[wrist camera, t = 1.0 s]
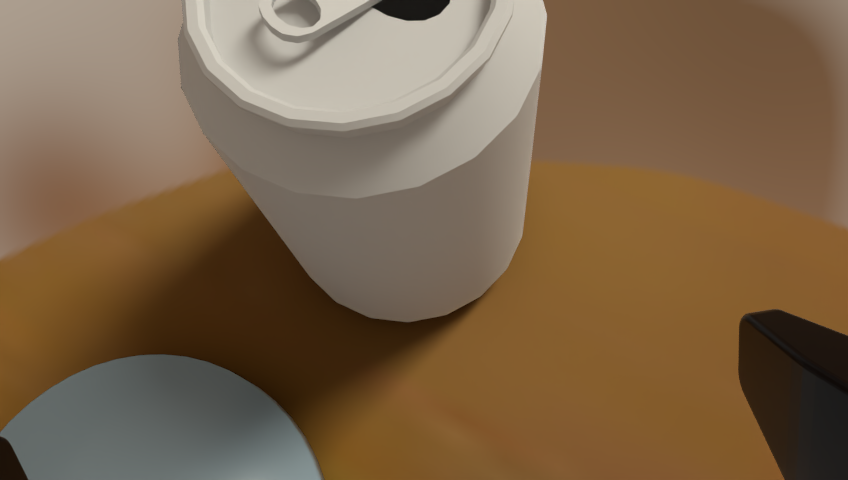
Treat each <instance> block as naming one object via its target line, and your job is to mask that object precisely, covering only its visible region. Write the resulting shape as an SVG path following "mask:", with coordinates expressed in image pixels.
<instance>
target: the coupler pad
mask: <svg viewBox="0 0 848 480" xmlns="http://www.w3.org/2000/svg"><path fill="white" fill-rule="evenodd" d="M0 436H1V437H4V438H5V439H7V440H8V441H9V442H10V444H11V446H12V448H13V450H14V452H15V454H16V456H17V458H18V460H19V462H20V464H21V466H22V468H23V470H24V472H25V474H26V476H27V478H28V480H325V479H324V476H323V474H322V471H321V468H320V465H319V463H318V460H317V458H316V456H315V454H314V452H313V450H312V448H311V446H310V444H309V442H308V440H307V439H306V437H305V435H304V434H303V433H302V431H301V430H300V428H299V427H298V426H297V424H296V423H295V421H294V420H293V419H292V417H291V416H290V415H289V414H288V413H287V412H286V411H285V410H284V409H283V408H282V407H281V406H280V405H279V404H278V403H277V402H276V401H275V400H274V399H273V398H271V397H270V396H269V395H268V394H266V393H265V392H264V391H263V390H261V389H260V388H259V387H257V386H255V385H254V384H252V383H250V382H248V381H247V380H245V379H243V378H242V377H240V376H238V375H236V374H235V373H233V372H231V371H229V370H227V369H224V368H222V367H219V366H217V365H214V364H212V363H209V362H206V361H202V360H198V359H194V358H190V357H185V356H175V355H165V354H159V355H138V356H132V357H126V358H120V359H115V360H112V361H109V362H105V363H102V364H99V365H95V366H93V367H90V368H88V369H86V370H83V371H81V372H79V373H76V374H74V375H72V376H70V377H68V378H67V379H65V380H63V381H61V382H60V383H58V384H56V385H55V386H53V387H51V388H50V389H48V390H47V391H45V392H44V393H43V394H41V395H40V396H39V397H37V398H36V399H35V400H33V401H32V402H31V403H29V404H28V405H27V406H26V407H25V408H24V409H23V410H22V411H21V412H20V413H18V414H17V415H16V416H15V417H14V418H13V419H12V420H11V421H10V422H9V423H8V424H7V425H6V427H5V428H4V429H3V430H2V431H1V432H0Z"/></svg>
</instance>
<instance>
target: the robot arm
mask: <svg viewBox="0 0 848 480" xmlns="http://www.w3.org/2000/svg"><path fill="white" fill-rule="evenodd" d="M738 372H739V380H740V384H741V387H742V390H743V393H744V395H745V397H746V399H747V401H748V403H749V405H750V407H751V410H752V412H753V414H754V416H755V418H756V420H757V422H758V424H759V426H760V429H761V431H762V433H763V435H764V437H765V439H766V441H767V443H768V445H769V448H770V450H771V452H772V454H773V456H774V458H775V460H776V462H777V464H778V467H779V469H780V471H781V473H782V475H783V477H784V479H785V480H848V336H847V335H845V334H842V333H839V332H837V331H834V330H832V329H829V328H826V327H824V326H821V325H818V324H816V323H813V322H811V321H808V320H805V319H803V318H800V317H797V316H795V315H792V314H790V313H787V312H784V311H782V310H778V309H771V310H765V311H759V312H753V313H748V314H745V315H744V316H743V317H742V318H741V321H740V325H739V366H738ZM0 480H28V478H27V476H26V474H25V472H24V470H23V468H22V466H21V464H20V462H19V460H18V458H17V456H16V454H15V452H14V450H13V448H12V446H11V444H10V442H9V441H8V440H7V439H5V438H4V437H1V436H0Z"/></svg>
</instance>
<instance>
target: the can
mask: <svg viewBox="0 0 848 480" xmlns="http://www.w3.org/2000/svg"><path fill="white" fill-rule="evenodd" d="M182 11H183V24H182V27H181V31H180V34H179V37H178V46H179V61H180V75H181V88H182V90H183V92H184V94H185V96H186V98H187V101H188V102H189V105H190V107H191V109H192V111H193V113H194V115H195V117H196V119H197V121H198V123H199V125H200V127H201V129H202V131H203V134H204V135H205V136H206V138H207V139H208V140H209V142H210V143H211V144H212V145H213V147H214V148H215V150H216V151H217V152H218V154H219V155H220V156H221V158H222V159H223V160H224V162H225V163H226V165H227V166H228V167H229V169H230V170H231V171H232V173H233V174H234V175H235V177H236V178H237V179H238V181H239V182H240V183H241V185H242V186H243V187H244V189H245V190H246V191H247V193H248V194H249V196H250V197H251V198H252V200H253V201H254V202H255V204H256V205H257V206H258V208H259V209H260V210H261V212H262V213H263V214H264V216H265V217H266V218H267V220H268V221H269V222H270V224H271V225H272V227H273V228H274V229H275V231H276V232H277V233H278V235H279V236H280V237H281V239H282V240H283V241H284V243H285V244H286V245H287V247H288V248H289V249H290V251H291V252H292V253H293V255H294V256H295V257H296V259H297V260H298V262H299V263H300V264H301V266H302V267H303V268H304V270H305V271H306V272H307V274H308V275H309V276H310V278H311V279H312V280H314V281H315V282H316V283H317V284H318V285H319V286H320V287H321V288H322V289H323V290H324V291H325V292H326V293H327V294H328V295H329V296H330V297H331V298H332V299H333V300H334V301H335V302H337V303H339V304H341V305H343V306H345V307H348V308H350V309H352V310H354V311H356V312H358V313H361V314H363V315H365V316H367V317H369V318H375V319H384V320H392V321H401V322H413V321H418V320H423V319H428V318H433V317H439V316H444V315H447V314H449V313H451V312H453V311H455V310H457V309H458V308H460V307H462V306H464V305H466V304H468V303H470V302H471V301H473V300H475V299H477V298H479V297H481V296H482V295H483V294H484V292H485V291H486V290H487V289H488V288H489V287H490V286H491V285H492V284H493V283H494V282H495V281H496V280H497V279H498V278H499V277H500V276H501V275H502V274H503V273H504V272H505V270H506V269H507V268H508V265H509V263H510V261H511V259H512V257H513V255H514V253H515V251H516V248H517V246H518V244H519V242H520V240H521V238H522V234H523V225H524V217H525V208H526V199H527V190H528V182H529V173H530V164H531V156H532V147H533V138H534V129H535V121H536V112H537V103H538V95H539V86H540V76H541V69H542V59H543V48H544V39H545V29H546V19H547V14H546V10H545V7H544V4H543V0H182Z"/></svg>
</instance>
